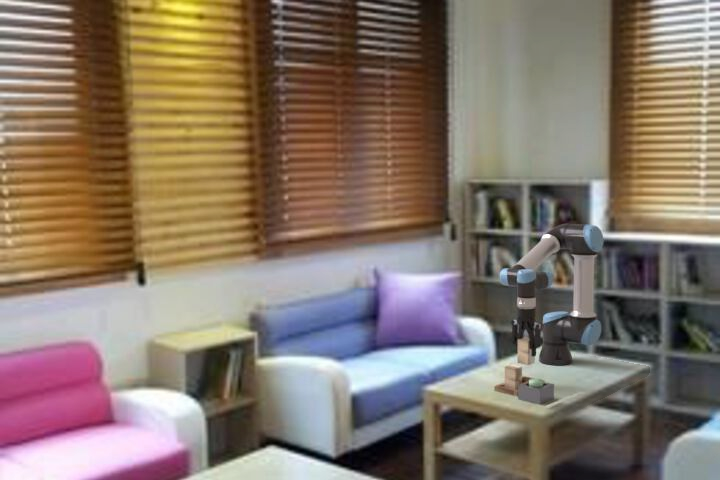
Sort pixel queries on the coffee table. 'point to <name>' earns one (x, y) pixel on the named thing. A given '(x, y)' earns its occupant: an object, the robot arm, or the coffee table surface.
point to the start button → (536, 383)
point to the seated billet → (513, 376)
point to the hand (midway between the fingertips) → (525, 362)
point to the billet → (523, 351)
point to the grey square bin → (536, 393)
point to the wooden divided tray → (502, 389)
